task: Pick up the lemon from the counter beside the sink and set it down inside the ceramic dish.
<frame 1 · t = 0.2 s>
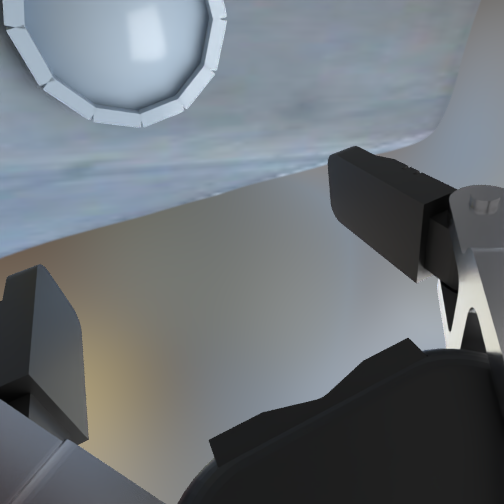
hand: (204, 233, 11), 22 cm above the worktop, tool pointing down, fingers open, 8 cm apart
dish: (121, 17, 25), on the worktop
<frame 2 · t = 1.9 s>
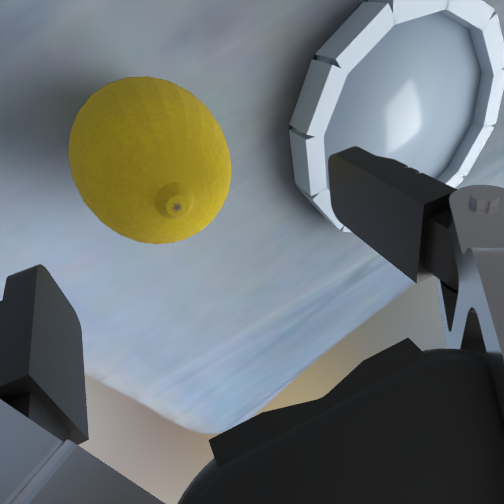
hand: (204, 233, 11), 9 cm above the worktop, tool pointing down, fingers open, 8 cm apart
lemon: (133, 128, 17), on the worktop
dish: (389, 122, 23), on the worktop
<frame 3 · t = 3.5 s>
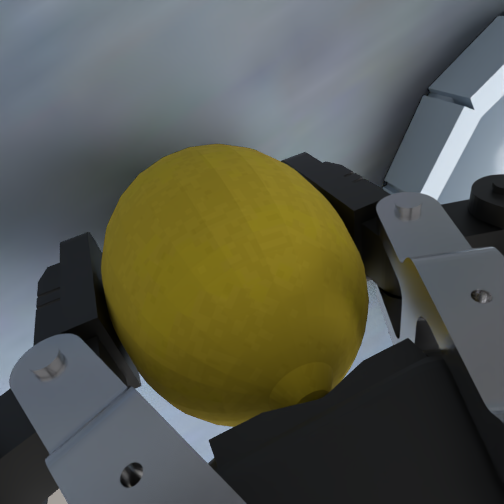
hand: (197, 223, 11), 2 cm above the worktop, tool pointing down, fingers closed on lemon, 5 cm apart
lemon: (183, 199, 12), on the worktop, touching gripper
dish: (502, 168, 17), on the worktop
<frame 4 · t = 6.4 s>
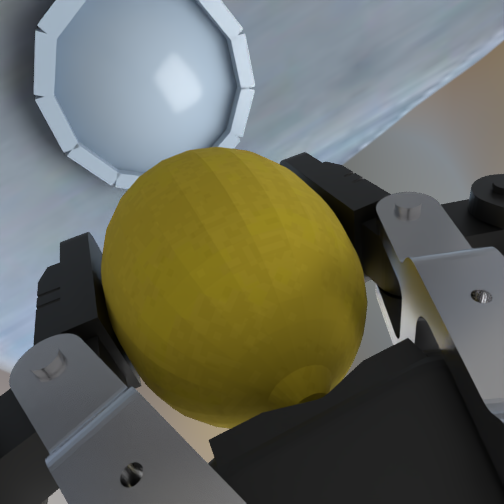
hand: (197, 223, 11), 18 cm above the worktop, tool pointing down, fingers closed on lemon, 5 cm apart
lemon: (182, 201, 12), point 16 cm above the worktop, touching gripper
dish: (149, 86, 25), on the worktop
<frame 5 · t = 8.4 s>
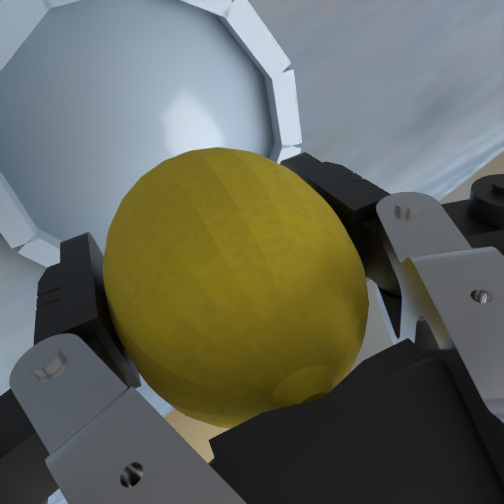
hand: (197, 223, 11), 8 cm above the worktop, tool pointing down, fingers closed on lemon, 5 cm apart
lemon: (184, 201, 12), point 6 cm above the worktop, touching gripper
dish: (147, 143, 17), on the worktop
when the fingers open (4 cm above the worktop, at t = 9.6 s): lemon drops 2 cm, resting on dish.
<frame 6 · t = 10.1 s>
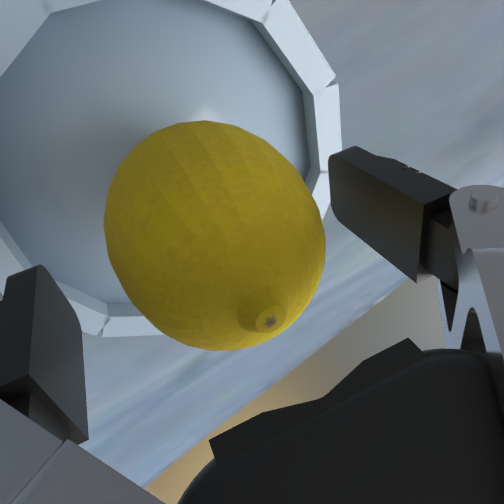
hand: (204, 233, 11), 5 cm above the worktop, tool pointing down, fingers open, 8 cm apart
lemon: (175, 175, 14), point 1 cm above the worktop, touching dish
dish: (164, 169, 15), on the worktop
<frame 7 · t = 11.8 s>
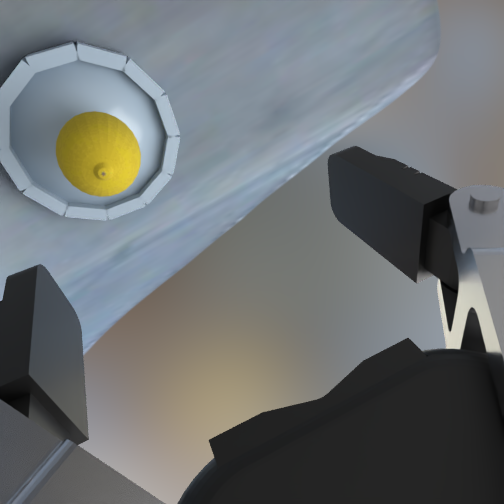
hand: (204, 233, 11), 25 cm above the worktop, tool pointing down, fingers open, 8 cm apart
lemon: (96, 137, 30), point 1 cm above the worktop, touching dish
dish: (92, 136, 31), on the worktop
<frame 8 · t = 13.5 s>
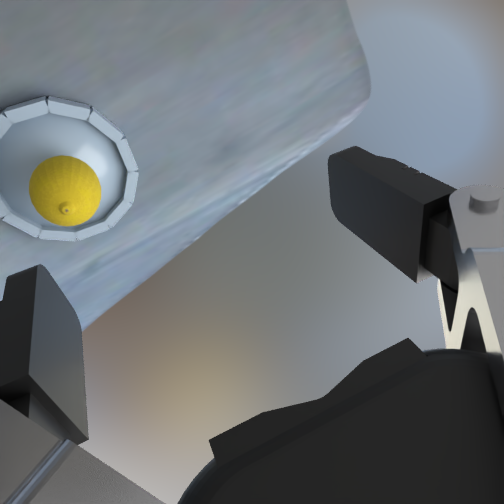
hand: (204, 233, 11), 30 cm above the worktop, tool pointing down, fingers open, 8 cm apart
lemon: (65, 173, 36), point 1 cm above the worktop, touching dish
dish: (63, 170, 37), on the worktop
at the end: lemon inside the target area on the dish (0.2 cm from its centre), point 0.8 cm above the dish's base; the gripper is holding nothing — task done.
